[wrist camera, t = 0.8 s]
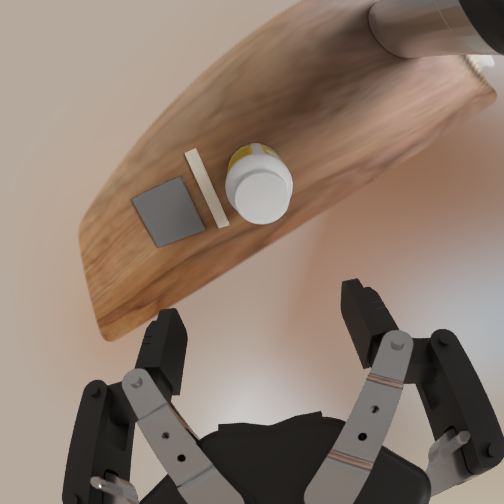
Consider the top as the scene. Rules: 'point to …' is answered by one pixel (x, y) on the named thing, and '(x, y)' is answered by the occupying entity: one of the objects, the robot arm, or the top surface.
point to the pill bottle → (258, 183)
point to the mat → (169, 212)
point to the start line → (206, 187)
